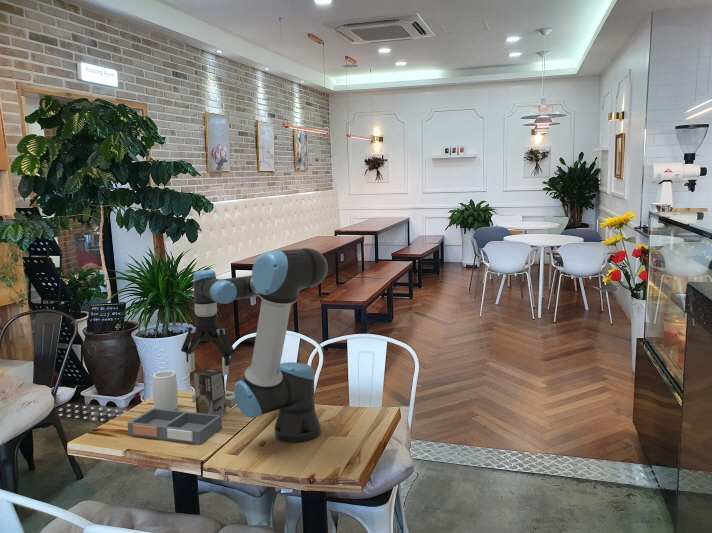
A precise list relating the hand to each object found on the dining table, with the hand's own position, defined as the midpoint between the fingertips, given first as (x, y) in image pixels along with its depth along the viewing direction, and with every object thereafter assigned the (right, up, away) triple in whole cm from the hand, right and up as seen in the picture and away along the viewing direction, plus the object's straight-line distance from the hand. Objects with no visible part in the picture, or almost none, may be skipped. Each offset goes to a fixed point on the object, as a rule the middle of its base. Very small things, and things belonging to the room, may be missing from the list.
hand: (208, 372), depth 200 cm
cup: (-17, -15, +6) cm, 24 cm away
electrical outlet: (0, -15, +15) cm, 21 cm away
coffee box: (0, -16, +2) cm, 16 cm away
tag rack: (-8, -17, -12) cm, 22 cm away
